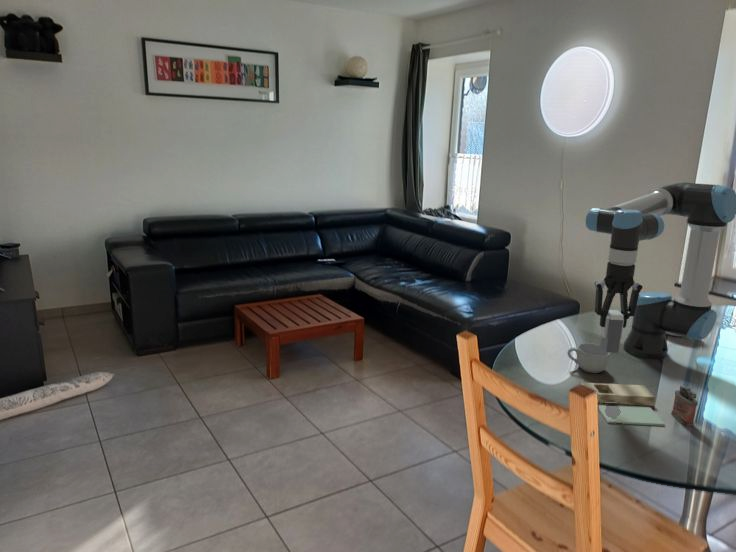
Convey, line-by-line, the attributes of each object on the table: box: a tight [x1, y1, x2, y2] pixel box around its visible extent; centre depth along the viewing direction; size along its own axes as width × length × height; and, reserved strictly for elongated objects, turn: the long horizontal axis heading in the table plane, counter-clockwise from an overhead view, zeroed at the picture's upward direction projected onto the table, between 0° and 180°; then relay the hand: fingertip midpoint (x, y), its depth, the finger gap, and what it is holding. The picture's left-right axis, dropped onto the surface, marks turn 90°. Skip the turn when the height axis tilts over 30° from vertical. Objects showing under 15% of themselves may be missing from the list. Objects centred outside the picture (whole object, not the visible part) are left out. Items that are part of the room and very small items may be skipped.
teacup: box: [567, 342, 611, 374], centre depth 193 cm, size 14×11×8 cm
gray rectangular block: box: [600, 309, 624, 354], centre depth 167 cm, size 4×5×12 cm
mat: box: [598, 404, 666, 427], centre depth 162 cm, size 16×10×1 cm, turn 86°
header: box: [579, 382, 656, 407], centre depth 173 cm, size 20×8×3 cm, turn 86°
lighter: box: [670, 384, 699, 428], centre depth 159 cm, size 8×3×10 cm, turn 5°
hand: (611, 336), depth 168 cm, fingers closed on gray rectangular block, 4 cm apart
